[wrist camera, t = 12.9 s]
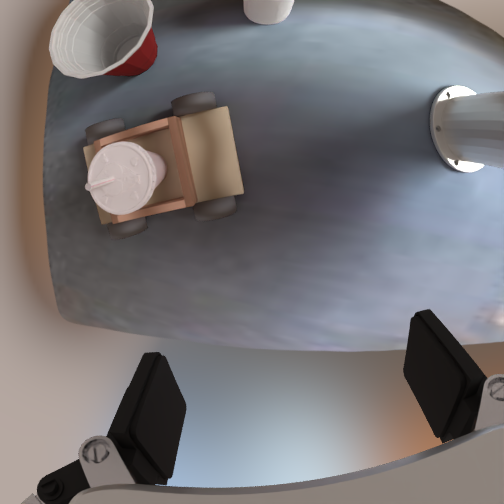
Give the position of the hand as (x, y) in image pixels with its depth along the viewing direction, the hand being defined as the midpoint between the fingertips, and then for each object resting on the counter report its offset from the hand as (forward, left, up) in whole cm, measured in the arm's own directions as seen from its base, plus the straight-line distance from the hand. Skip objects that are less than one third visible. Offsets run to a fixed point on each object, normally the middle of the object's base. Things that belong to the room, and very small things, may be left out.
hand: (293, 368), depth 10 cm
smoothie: (+11, -7, -26) cm, 29 cm away
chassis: (+11, -8, -28) cm, 31 cm away
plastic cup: (+11, -23, -28) cm, 38 cm away
